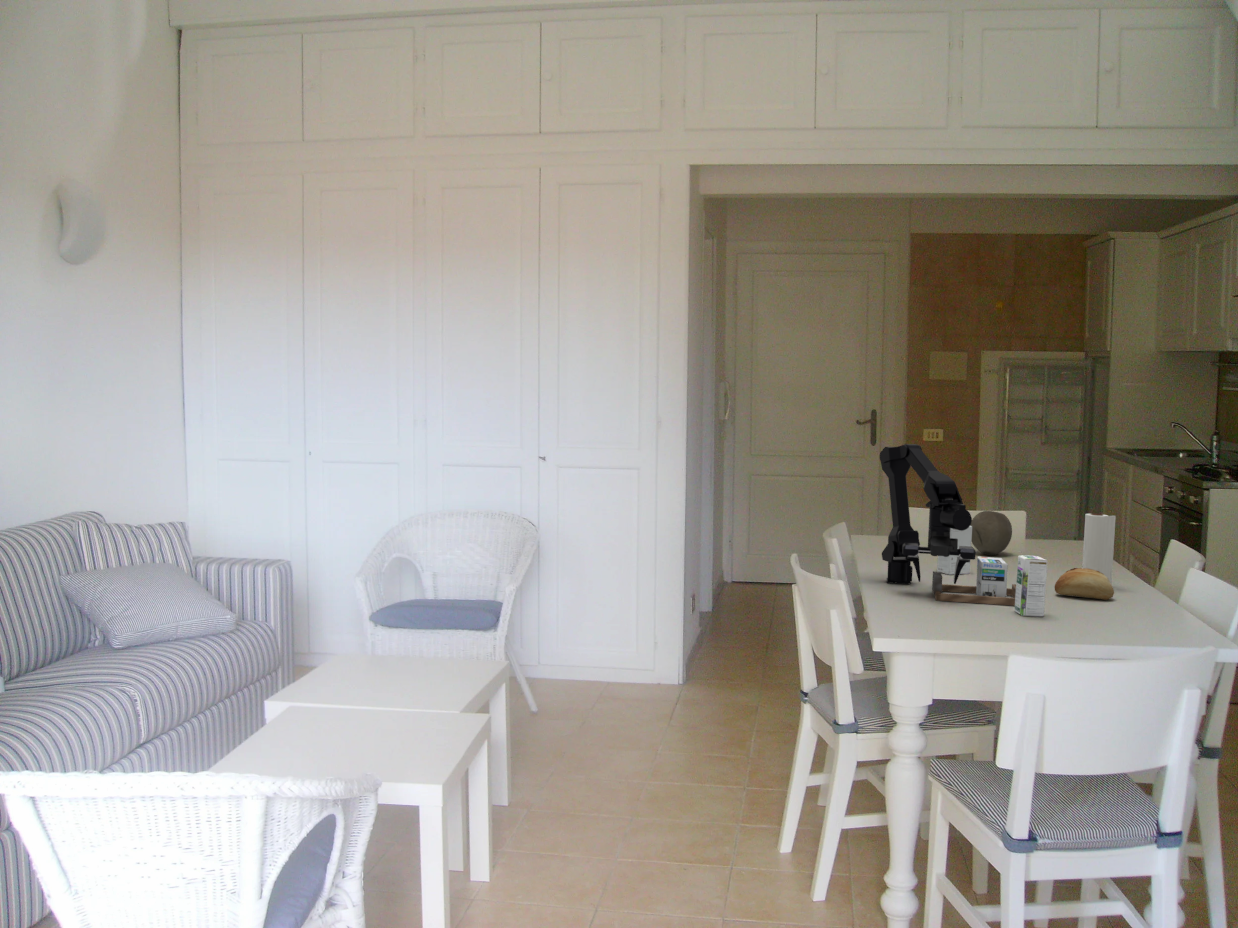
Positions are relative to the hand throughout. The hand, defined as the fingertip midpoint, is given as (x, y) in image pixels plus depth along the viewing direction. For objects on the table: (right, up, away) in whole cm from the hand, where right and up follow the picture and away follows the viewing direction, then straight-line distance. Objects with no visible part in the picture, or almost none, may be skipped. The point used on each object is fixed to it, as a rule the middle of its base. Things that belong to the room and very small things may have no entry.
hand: (936, 582), depth 290 cm
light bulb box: (+13, -4, -3) cm, 14 cm away
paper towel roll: (+50, -4, +17) cm, 53 cm away
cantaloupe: (+41, +1, +76) cm, 86 cm away
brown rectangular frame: (+10, -4, -2) cm, 11 cm away
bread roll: (+41, -5, +3) cm, 41 cm away
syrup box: (+17, -6, -21) cm, 28 cm away
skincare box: (+16, -1, +37) cm, 41 cm away
